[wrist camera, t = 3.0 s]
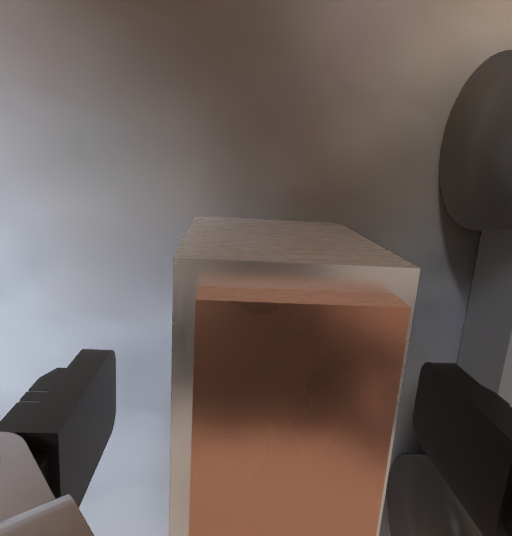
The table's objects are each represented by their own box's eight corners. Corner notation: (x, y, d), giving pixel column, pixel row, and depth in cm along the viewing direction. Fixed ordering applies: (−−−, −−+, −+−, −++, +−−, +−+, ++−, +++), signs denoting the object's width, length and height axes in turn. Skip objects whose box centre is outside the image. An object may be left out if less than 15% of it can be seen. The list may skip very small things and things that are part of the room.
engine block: (196, 215, 13) (166, 268, 7) (337, 222, 14) (441, 280, 7) (190, 415, 15) (163, 614, 8) (317, 417, 15) (386, 609, 9)
